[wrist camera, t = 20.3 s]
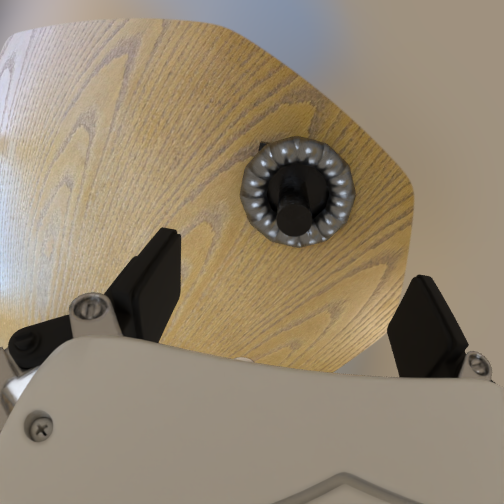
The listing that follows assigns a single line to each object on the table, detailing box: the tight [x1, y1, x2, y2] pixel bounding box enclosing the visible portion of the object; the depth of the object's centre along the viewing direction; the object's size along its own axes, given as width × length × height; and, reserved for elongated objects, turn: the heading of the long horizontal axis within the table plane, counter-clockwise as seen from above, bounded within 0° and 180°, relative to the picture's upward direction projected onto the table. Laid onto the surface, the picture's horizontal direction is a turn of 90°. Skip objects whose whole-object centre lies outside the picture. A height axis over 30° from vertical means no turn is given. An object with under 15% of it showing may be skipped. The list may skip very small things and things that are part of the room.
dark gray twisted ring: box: [240, 136, 356, 248], centre depth 31 cm, size 12×12×3 cm
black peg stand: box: [259, 141, 330, 237], centre depth 29 cm, size 9×9×10 cm
